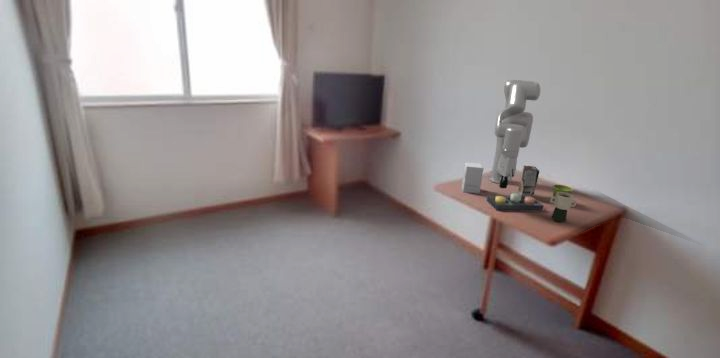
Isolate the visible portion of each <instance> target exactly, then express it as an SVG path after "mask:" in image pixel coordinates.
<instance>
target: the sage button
mask: <svg viewBox="0 0 720 358" xmlns="http://www.w3.org/2000/svg"><path fill="white" fill-rule="evenodd" d="M510 196H511V197H510V201H511V202H512V203H520V201H521V197H522V196H521V195H520V194H519V193H518V192H517V193H516V192H512V193H511V194H510Z"/></svg>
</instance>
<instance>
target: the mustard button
mask: <svg viewBox="0 0 720 358" xmlns="http://www.w3.org/2000/svg"><path fill="white" fill-rule="evenodd" d="M495 196H496V197H495V201H496V202H497V203H505V201H506V198H505V197H503V196H504V195H495Z"/></svg>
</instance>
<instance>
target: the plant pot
mask: <svg viewBox="0 0 720 358" xmlns="http://www.w3.org/2000/svg"><path fill="white" fill-rule="evenodd" d="M552 190H553V193H552V196H553V197H556V194H557V193H558V192H564V193H568V194H572V193H571V192H572V191H573V188H572V187H571V186H568V185H563V184H553V185H552ZM553 201H555V199H554V198H553Z"/></svg>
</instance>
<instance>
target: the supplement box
mask: <svg viewBox="0 0 720 358" xmlns="http://www.w3.org/2000/svg"><path fill="white" fill-rule="evenodd" d="M483 173H484V166H483V165H482V163H477V162H470V161H469V162H467V161H466V162H465V163H464V169H463V176H462V182H461V190H462V192H463V193H471V194H478V195H480V191H481V185H482V179H483Z"/></svg>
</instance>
